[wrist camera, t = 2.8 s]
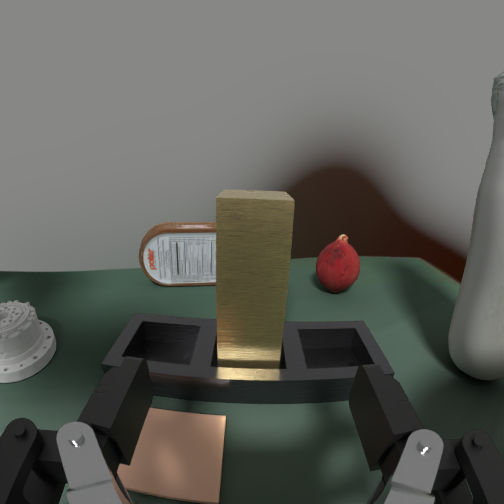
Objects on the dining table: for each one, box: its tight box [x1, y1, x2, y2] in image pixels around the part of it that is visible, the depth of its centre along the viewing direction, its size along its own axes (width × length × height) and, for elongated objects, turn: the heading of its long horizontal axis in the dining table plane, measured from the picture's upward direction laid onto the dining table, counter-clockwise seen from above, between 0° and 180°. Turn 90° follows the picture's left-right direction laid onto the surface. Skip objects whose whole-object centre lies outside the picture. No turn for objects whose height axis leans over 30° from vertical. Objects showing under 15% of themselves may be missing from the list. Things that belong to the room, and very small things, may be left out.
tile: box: [117, 408, 226, 504], centre depth 14 cm, size 7×7×1 cm
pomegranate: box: [316, 235, 360, 293], centre depth 37 cm, size 6×6×8 cm
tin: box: [139, 222, 216, 286], centre depth 38 cm, size 15×3×8 cm, turn 101°
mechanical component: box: [0, 300, 56, 383], centre depth 20 cm, size 10×4×10 cm
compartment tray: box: [101, 313, 394, 404], centre depth 23 cm, size 22×8×2 cm, turn 90°
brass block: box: [216, 190, 294, 369], centre depth 21 cm, size 4×4×14 cm
